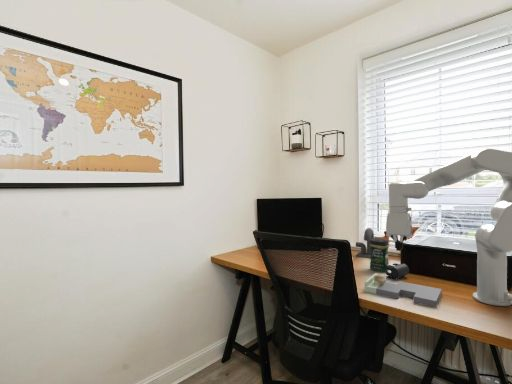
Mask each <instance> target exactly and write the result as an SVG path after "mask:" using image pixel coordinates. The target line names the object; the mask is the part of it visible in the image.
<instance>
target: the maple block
mask: <svg viewBox="0 0 512 384" xmlns="http://www.w3.org/2000/svg"><path fill="white" fill-rule="evenodd" d="M375 273H376V274H375ZM375 273H374V274H375V275H374V274H373V275H374V284H378V285H384V284H385V279H386V273H385V274H383V273H379V272H375Z"/></svg>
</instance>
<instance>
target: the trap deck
mask: <svg viewBox="0 0 512 384" xmlns="http://www.w3.org/2000/svg"><path fill="white" fill-rule="evenodd" d="M376 273H377V272H375V273H374V274H372V275H371V276H370V277H369V278H368V279H366V280H365V281H364V292H365V293H370V294H373V295H378V296H379V295H380V296H383V297H388V298H391V299H397V300H399V298H400V297H401V296H404V297H408V298H412V299H413V303H415V304H420V305H424V306H427V307H433V308H437V306H438V304H439V302H440V300H441V297H442V294H443V293H442V292H443V289H442V288H437V287H433V286H427V285H423V284H422V285H421V284H416V283H410V282H407V281H406V282H405V281H400V280H399V281H398V282H397V283H392V282H387V278H385V284H384V285H378V284H374V275H375V274H376Z"/></svg>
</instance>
